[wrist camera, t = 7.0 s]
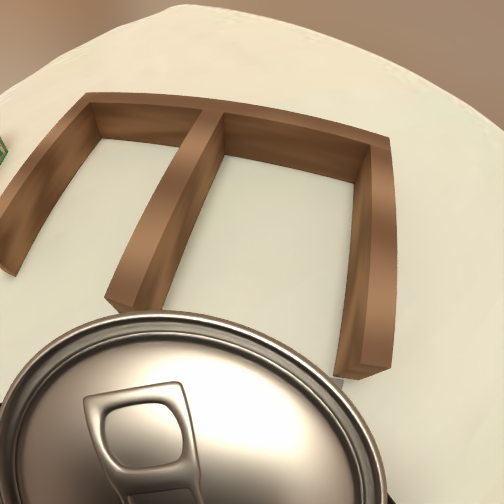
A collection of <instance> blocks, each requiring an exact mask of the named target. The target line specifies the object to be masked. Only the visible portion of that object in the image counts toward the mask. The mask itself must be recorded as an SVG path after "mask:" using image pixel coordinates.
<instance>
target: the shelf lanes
mask: <svg viewBox="0 0 504 504" xmlns="http://www.w3.org/2000/svg"><path fill="white" fill-rule="evenodd" d="M101 138H108V139H119V140H128V141H137V142H146V143H154V144H162V145H169V146H176V147H180V148H179V149H178V151H177V153H176V154H175V156H174V158H173V160H172V161H171V163H170V165H169V166H168V168H167V170H166V172H165V174H164V175H163V177H162V179H161V181H160V183H159V184H158V186H157V188H156V190H155V192H154V194H153V195H152V197H151V199H150V201H149V203H148V205H147V207H146V209H145V211H144V213H143V215H142V216H141V218H140V220H139V222H138V224H137V226H136V228H135V230H134V232H133V234H132V237H131V239H130V241H129V243H128V245H127V247H126V249H125V251H124V253H123V255H122V258H121V260H120V262H119V264H118V266H117V269H116V271H115V273H114V275H113V278H112V280H111V282H110V285H109V287H108V289H107V292H106V294H105V296H104V298H105V299H106V300H107V301H108V302H109V303H110V304H111V305H112V306H113V307H114V308H115V309H116V310H117V311H118V312H119V313H120V314H121V313H127V312H135V311H148V310H162V307H163V304H164V302H165V299H166V296H167V293H168V291H169V288H170V285H171V283H172V280H173V277H174V275H175V272H176V270H177V267H178V264H179V262H180V259H181V257H182V254H183V252H184V249H185V247H186V244H187V242H188V239H189V237H190V234H191V232H192V229H193V227H194V224H195V222H196V219H197V217H198V215H199V212H200V210H201V208H202V205H203V203H204V200H205V198H206V196H207V193H208V191H209V189H210V186H211V184H212V182H213V180H214V177H215V175H216V173H217V171H218V168H219V166H220V164H221V162H222V159H223V157H224V155H225V154H226V155H231V156H237V157H242V158H247V159H252V160H257V161H262V162H267V163H272V164H276V165H281V166H286V167H290V168H294V169H299V170H303V171H307V172H312V173H316V174H320V175H324V176H328V177H332V178H336V179H339V180H343V181H347V182H351V183H354V196H353V215H352V230H351V243H350V255H349V265H348V275H347V285H346V293H345V302H344V309H343V317H342V324H341V331H340V338H339V344H338V351H337V357H336V363H335V368H334V374H333V376H336V377H342V378H348V379H355V380H360V379H363V378H366V377H369V376H371V375H374V374H377V373H379V372H382V371H385V370H387V369H390V368H391V363H392V353H393V343H394V330H395V316H396V295H397V224H396V203H395V188H394V176H393V166H392V156H391V147H390V139H389V137H385V136H382V135H379V134H376V133H373V132H369V131H366V130H363V129H359V128H356V127H352V126H348V125H345V124H341V123H337V122H333V121H329V120H325V119H321V118H317V117H313V116H308V115H304V114H299V113H295V112H290V111H285V110H280V109H275V108H269V107H264V106H258V105H252V104H246V103H239V102H232V101H225V100H217V99H209V98H200V97H191V96H180V95H167V94H150V93H121V92H92V93H85V94H84V95H83V96H82V97H81V98H80V99H79V100H78V101H77V102H76V104H75V105H74V106H73V107H72V108H71V109H70V110H69V111H68V112H67V113H66V114H65V115H64V116H63V117H62V118H61V119H60V121H59V122H58V123H57V124H56V125H55V126H54V127H53V128H52V130H51V131H50V132H49V133H48V134H47V135H46V137H45V138H44V139H43V140H42V141H41V143H40V144H39V145H38V146H37V147H36V149H35V150H34V151H33V152H32V154H31V155H30V156H29V158H28V159H27V160H26V161H25V163H24V164H23V165H22V167H21V168H20V169H19V171H18V172H17V174H16V175H15V176H14V178H13V179H12V181H11V182H10V183H9V185H8V186H7V188H6V189H5V191H4V192H3V194H2V195H1V197H0V268H1V269H2V270H3V271H5V272H7V273H9V274H11V275H13V276H15V277H16V275H17V273H18V271H19V268H20V266H21V264H22V262H23V260H24V258H25V256H26V254H27V253H28V251H29V249H30V247H31V245H32V243H33V241H34V239H35V238H36V236H37V234H38V232H39V230H40V229H41V227H42V225H43V223H44V222H45V220H46V218H47V217H48V215H49V213H50V212H51V210H52V208H53V207H54V205H55V204H56V202H57V200H58V199H59V197H60V196H61V194H62V193H63V191H64V190H65V188H66V186H67V185H68V183H69V182H70V181H71V179H72V178H73V176H74V175H75V173H76V172H77V170H78V169H79V168H80V166H81V165H82V163H83V162H84V161H85V159H86V158H87V156H88V155H89V154H90V152H91V151H92V150H93V148H94V147H95V146H96V145H97V143H98V142H99V141H100V139H101Z"/></svg>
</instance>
